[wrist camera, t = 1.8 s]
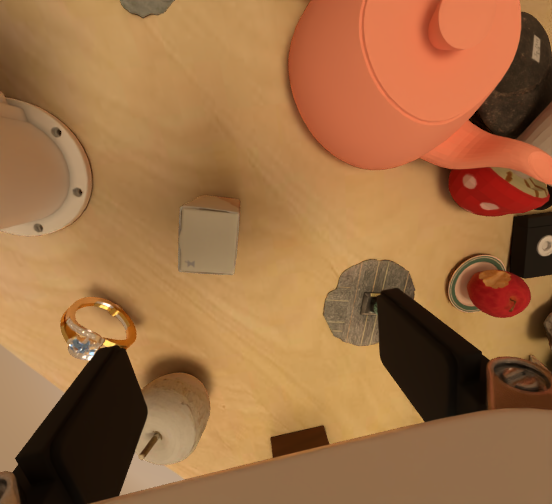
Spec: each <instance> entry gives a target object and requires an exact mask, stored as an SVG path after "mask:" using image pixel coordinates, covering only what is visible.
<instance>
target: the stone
mask: <svg viewBox="0 0 552 504" xmlns="http://www.w3.org/2000/svg"><path fill="white" fill-rule="evenodd" d="M551 102H552V52H551V47H550V42H549V38H548V35H547V33H546V32H545V30H544V28H543V27H542V25H541V24H540V23H539V21H538V20H537V19H536V18H535V17H533V16H532V15H530V14H528V13H526V12H521V32H520V40H519V44H518V48H517V51H516V54H515V56H514V59H513V61H512V63H511V65H510V67H509V69H508V70H507V72H506V73H505V75H504V76H503V78H502V79H501V81H500V82H499V83H498V85H497V86H496V88H495V89H494V90H493V91H492V93H491V94H490V95H489V96H488V98H487V99H486V100H485V101H484V102H483V104H482V105H481V106H480V107H479V108H478V112H479V114H480V116H481V118H482V120H483V122H484V123H485V125H486V126H487V127H488V128H489V129H490V130H491V131H492V132H493V133H494V134H495V135H498V136H502V137H507V138H511V139H517V138H518V137H519V136H520V135H521V134H522V133H523V132H524V131H525V129H526V128H527V127H528V126H529V125H530V124H531V123H532V122H533V121H534V120H535V119H536V118H537V117H538V115H539V114H540V113H541V112H542V111H543V110H544V109H545V108H546V107H547V106H548V105H549V104H550V103H551Z"/></svg>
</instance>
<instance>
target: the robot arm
mask: <svg viewBox="0 0 552 504" xmlns="http://www.w3.org/2000/svg"><path fill="white" fill-rule="evenodd" d="M60 131H61V135H60V133H59V132H60ZM91 189H92V173H91V169H90V165H89V161H88V158H87V156H86V154H85V151H84V149H83V147H82V146H81V144H80V143H79V141H78V140H77V138H76V136H75V135H74V134H73V133H72V132H71V131H70V130H69V129H68V127H67V126H66V125H65V124H63V123H62V122H61V121H60V120H58V119H57V118H56V117H55V116H54V115H52V114H50V113H49V112H47V111H45V110H43V109H42V108H40V107H37V106H35V105H32V104H30V103H27V102H24V101H20V100H16V99H13V98H6V97H5V96H4V94H3V92H1V91H0V231H2V232H6V233H9V234H12V235H20V236H41V235H45V234H50V233H53V232H56V231H59V230H61V229H63V228H65V227H67V226H68V225H70V224H72V223H73V222H74V221H75V220H76V219H77V218H78V217H80V215H81V214H82V212H83V211H84V209H85V208H86V206H87V204H88V201H89V199H90V195H91ZM80 190H82V193H81V192H80ZM377 313H378V331H379V349H380V358H381V361H382V363H383V365H384V366H385V368H386V369H387V370H388V372H389V373H390V374H391V376H392V377H393V379H394V380H395V381H396V383H397V384H398V385H399V387H400V388H401V390H402V391H403V392H404V394H405V395H406V396H407V398H408V399H409V401H410V402H411V403H412V405H413V406H414V407H415V409H416V410H417V412H418V413H419V414H420V416H421V417H422V418H423V420H424V421H425V422H424V423H419V424H415V425H410V426H406V427H401V428H397V429H392V430H388V431H384V432H380V433H376V434H371V435H367V436H363V437H359V438H354V439H350V440H346V441H342V442H337V443H333V444H329V445H325V446H321V447H316V448H312V449H308V450H304V451H300V452H296V453H291V454H287V455H283V456H279V457H275V458H271V459H267V460H263V461H258V462H254V463H250V464H246V465H242V466H238V467H234V468H230V469H226V470H222V471H217V472H213V473H209V474H205V475H201V476H197V477H193V478H189V479H185V480H182V481H178V482H173V483H169V484H165V485H161V486H157V487H153V488H149V489H145V490H141V491H137V492H133V493H129V494H126V495H121V496H119V494H120V491H121V488H122V486H123V483H124V480H125V477H126V475H127V472H128V469H129V466H130V464H131V461H132V458H133V455H134V453H135V450H136V447H137V444H138V442H139V439H140V436H141V433H142V431H143V428H144V425H145V422H146V419H147V415H148V409H147V405H146V402H145V400H144V397H143V394H142V392H141V389H140V386H139V384H138V381H137V378H136V376H135V373H134V370H133V368H132V365H131V363H130V360H129V357H128V355H127V352H126V350H125V349H124V348H120V347H119V346H118V345H115V346H110V347H105V348H100V349H98V350H97V352H96V353H95V354H94V356H93V357H92V358H91V359H90V361H89V362H88V363H87V365H86V366H85V367H84V369H83V370H82V371H81V373H80V374H79V375H78V377H77V378H76V379H75V380H74V382H73V383H72V384H71V386H70V387H69V388H68V390H67V391H66V392H65V394H64V395H63V396H62V398H61V399H60V400H59V401H58V403H57V404H56V405H55V407H54V408H53V409H52V411H51V412H50V413H49V415H48V416H47V417H46V419H45V420H44V421H43V423H42V424H41V425H40V426H39V428H38V429H37V430H36V432H35V433H34V434H33V436H32V437H31V438H30V440H29V441H28V442H27V443H26V445H25V446H24V447H23V449H22V450H21V451H20V453H19V454H18V455H17V457H16V458H15V459H16V461H17V463H18V466H17V467H16V468H15V470H14V471H13V472H8V471H4V472H0V504H552V373H551V372H550V371H549V370H547V369H545V368H544V367H542V366H540V365H538V364H536V363H533V362H531V361H528V360H525V359H521V358H516V357H497V358H494V359H492V360H489V359H487V358H486V357H485V356H483V355H482V352H481V351H480V350H478V349H477V348H476V347H475V346H473V345H472V344H471V343H469V342H468V341H467V340H465V339H464V338H463V337H462V336H460V335H459V334H458V333H456V332H455V331H454V330H452V329H451V328H450V327H448V326H447V325H446V324H445V323H443V322H442V321H441V320H439V319H438V318H437V317H435V316H434V315H433V314H431V313H430V312H429V311H428V310H426V309H425V308H424V307H422V306H421V305H420V304H418V303H417V302H416V301H415V300H413V299H412V298H411V297H409V296H408V295H407V294H405V293H404V292H403V291H401V290H400V289H399V288H392V289H387V290H382V291H381V294H380V295H378V296H377Z"/></svg>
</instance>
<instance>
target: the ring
mask: <svg viewBox="0 0 552 504" xmlns="http://www.w3.org/2000/svg"><path fill="white" fill-rule="evenodd" d="M87 306H97V307H101V308H104V309H106V310H108V311H109V313H110V314H111V315H112V316H116V317H117V318H118V319H119V320H120V321H121V322H122V324H123V326H124V328H125V330H126V340H114V339H109V338H104V337H103V338H102V337H101V336H100V335H99V334H97V333H95V332H93V331H91V330H88V329H86V328H84V327H83V326H81V325H80V324H79V323H78V322H77V321H76V318H75V314H76V311H77V310H78V309H80V308H83V307H87ZM61 332H62V335H63V337H64V339H65V340H66V342H67V343H68V345H69V346H68V351H69V353H70V354H71V355H72V356H73V357H75V358H78V359H82V360H90V359H91V358H92V357H93V356H94V354H95V353H96V352H97V350H98V349H100V346H102V345H105V346H108V347H110V346H115V345H118V346H119V347H120V348H124V349H125V350H126V349H128V348H129V347H130V346H131V345H132V344H133V343H134V342H135V340H136V328H135V326H134V323H133V322H132V320H131V318H130V317H129V316H128V315H127V314H126V312H125V311H123V310H122V307H121V306H120V305H118V304H114V303H113V302H111V301H109V300H106V299H103V298H99V297H84V298H81V299H79V300H77V301H76V302H74V303H73V304H72V305H71V306H70V307H69V308H68V309H67V310H66V311H65V313H64V314H63V316H62V319H61ZM76 332H77V333H78V334H80V335H83V336H85V337H79V335H78V334H76Z"/></svg>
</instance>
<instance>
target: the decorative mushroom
mask: <svg viewBox="0 0 552 504" xmlns="http://www.w3.org/2000/svg"><path fill="white" fill-rule="evenodd" d="M515 140H519V141H522V142H525V143H528V144H530V145H533V146H535V147H537V148H539V149H541V150H543V151H544V152H546V153H547V154H549V155H550V156H551V157H552V102H551V103H550V104H549V105H548V106H547V107H546V108H545V109H544V110H543V111H542V112H541V113H540V114H539V115H538V117H537V118H536V119H535V120H534V121H533V122H532V123H531V124H530V125H529V126H528V127H527V128H526V129H525V131H524V132H523V133H522V134H521V135H520V136H519V137H518V138H517V139H515ZM448 187H449V191H450V194H451V196H452V198H453V199H454V201H455V202H456V203H457V204H458V205H459V206H460V207H462V208H463V209H465V210H466V211H468V212H471V213H473V214H477V215H482V216H502V215H506V214H514V213H524V212H527V211H530V210H533V209H536V208H538V207H541V206H543V205H544V204H545V203H546V202H548V201H549V197H550V195H549V192H548V189H547V187H546V184H545V183H543V182H541V181H538V180H536V179H534V178H533V177H530V176H528V175H526V174H524V173H522V172H520V171H516V170H513V169H509V168H501V167H483V168H472V169H452V170H451V172H450V175H449V186H448Z"/></svg>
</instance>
